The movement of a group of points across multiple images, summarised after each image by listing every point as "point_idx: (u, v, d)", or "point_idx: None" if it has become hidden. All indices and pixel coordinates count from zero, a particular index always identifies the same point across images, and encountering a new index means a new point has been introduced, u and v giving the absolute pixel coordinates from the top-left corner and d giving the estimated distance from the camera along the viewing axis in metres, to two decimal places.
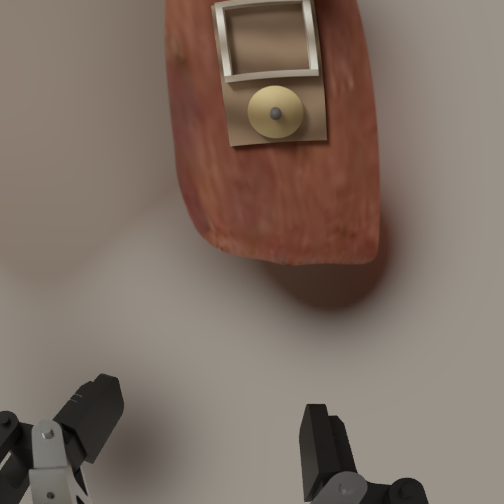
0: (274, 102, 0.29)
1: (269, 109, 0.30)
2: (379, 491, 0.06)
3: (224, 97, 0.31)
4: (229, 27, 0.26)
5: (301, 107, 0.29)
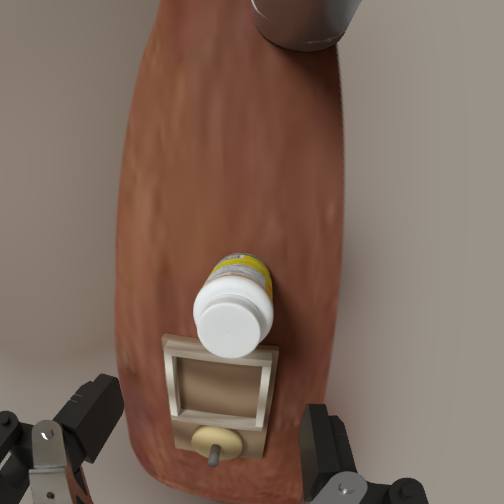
0: (216, 441, 0.29)
1: (210, 444, 0.29)
2: (379, 491, 0.06)
3: (172, 420, 0.31)
4: (180, 368, 0.28)
5: (240, 447, 0.29)
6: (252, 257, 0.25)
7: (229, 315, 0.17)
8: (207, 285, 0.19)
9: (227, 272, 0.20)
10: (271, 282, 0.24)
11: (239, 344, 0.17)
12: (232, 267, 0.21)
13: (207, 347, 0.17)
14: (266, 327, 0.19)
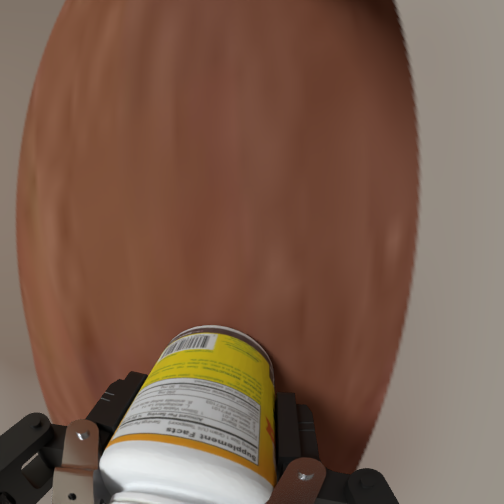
0: None
1: None
2: (340, 480, 0.06)
3: None
4: None
5: None
6: (234, 340, 0.11)
7: None
8: (112, 453, 0.05)
9: (161, 420, 0.06)
10: (273, 390, 0.11)
11: None
12: (179, 394, 0.08)
13: None
14: None
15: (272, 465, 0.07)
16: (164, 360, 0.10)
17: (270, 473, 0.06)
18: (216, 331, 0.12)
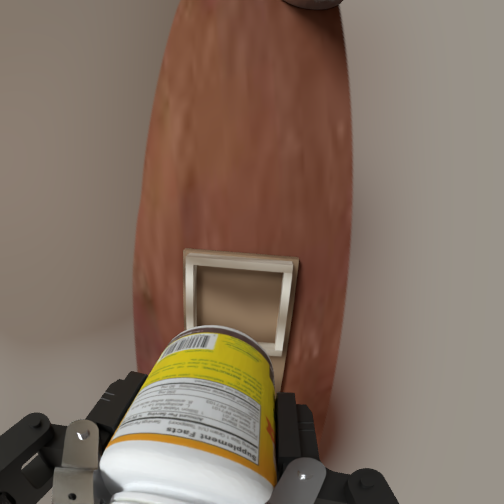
0: None
1: None
2: (340, 480, 0.06)
3: None
4: (199, 284, 0.30)
5: None
6: (235, 340, 0.11)
7: None
8: (113, 453, 0.05)
9: (161, 420, 0.06)
10: (274, 389, 0.11)
11: None
12: (179, 394, 0.08)
13: None
14: None
15: (272, 465, 0.07)
16: (164, 360, 0.10)
17: (270, 473, 0.06)
18: (216, 331, 0.12)
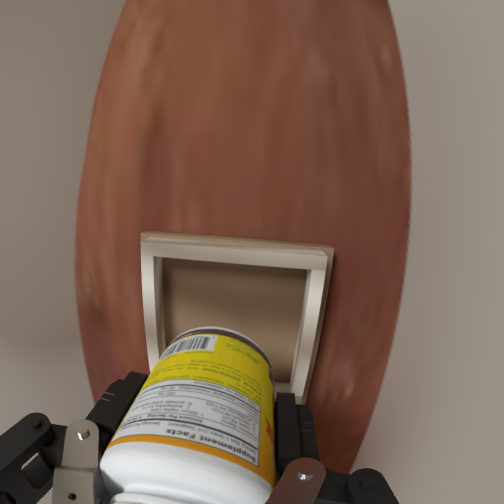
0: None
1: None
2: (340, 480, 0.06)
3: None
4: (167, 289, 0.18)
5: None
6: (234, 341, 0.11)
7: None
8: (113, 454, 0.05)
9: (162, 421, 0.06)
10: (273, 391, 0.11)
11: None
12: (179, 395, 0.08)
13: None
14: None
15: (272, 466, 0.07)
16: (164, 361, 0.10)
17: (270, 474, 0.06)
18: (216, 332, 0.12)
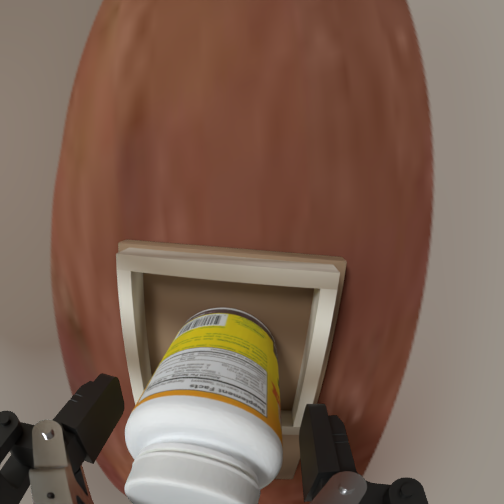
0: None
1: None
2: (378, 491, 0.06)
3: None
4: (150, 308, 0.15)
5: None
6: (243, 319, 0.13)
7: (185, 498, 0.05)
8: (141, 410, 0.07)
9: (185, 379, 0.08)
10: (277, 363, 0.13)
11: None
12: (199, 359, 0.10)
13: None
14: (268, 479, 0.07)
15: (278, 421, 0.09)
16: (182, 336, 0.12)
17: (277, 427, 0.08)
18: (226, 312, 0.14)
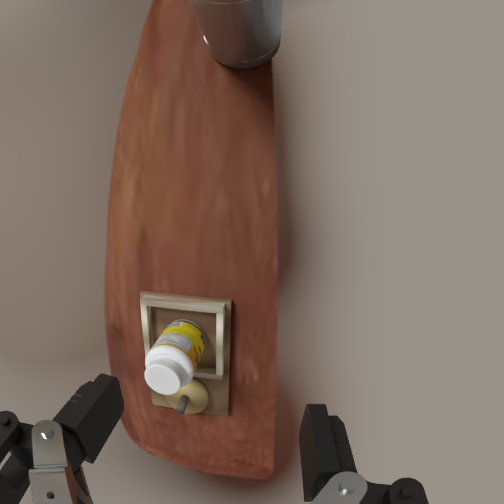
0: (184, 391, 0.36)
1: (180, 395, 0.36)
2: (379, 491, 0.06)
3: None
4: (154, 319, 0.36)
5: (205, 398, 0.36)
6: (189, 324, 0.34)
7: (161, 371, 0.26)
8: (151, 350, 0.28)
9: (164, 341, 0.29)
10: (202, 341, 0.33)
11: (169, 387, 0.26)
12: (169, 336, 0.30)
13: (151, 387, 0.26)
14: (188, 376, 0.28)
15: (193, 357, 0.29)
16: (165, 330, 0.33)
17: (191, 357, 0.29)
18: (183, 321, 0.34)
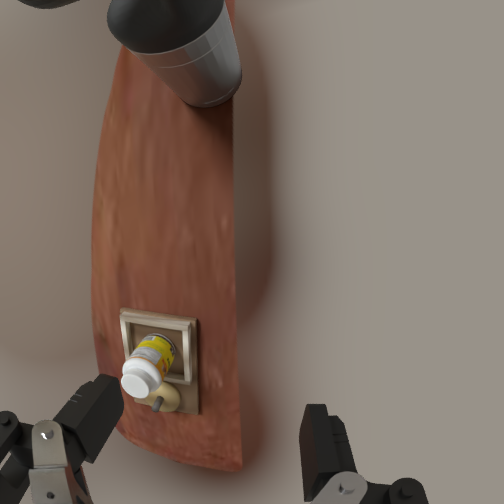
0: (159, 393, 0.41)
1: (156, 396, 0.41)
2: (379, 491, 0.06)
3: None
4: (132, 332, 0.40)
5: (177, 400, 0.41)
6: (160, 338, 0.39)
7: (133, 380, 0.30)
8: (127, 361, 0.33)
9: (137, 354, 0.34)
10: (171, 353, 0.38)
11: (140, 392, 0.31)
12: (142, 349, 0.35)
13: (127, 392, 0.31)
14: (157, 384, 0.33)
15: (160, 368, 0.34)
16: (140, 343, 0.37)
17: (159, 368, 0.33)
18: (155, 335, 0.39)
